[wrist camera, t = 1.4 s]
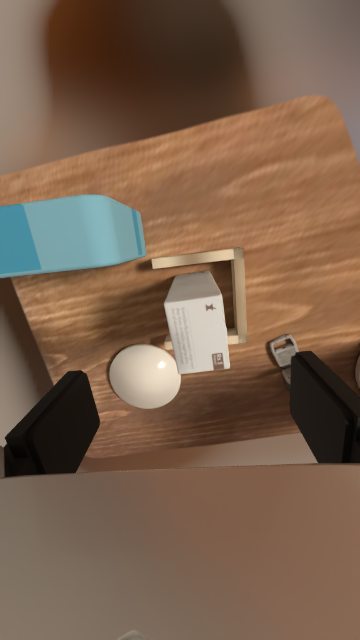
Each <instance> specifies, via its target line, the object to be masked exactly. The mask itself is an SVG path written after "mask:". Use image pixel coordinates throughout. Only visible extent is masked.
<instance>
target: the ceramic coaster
mask: <svg viewBox="0 0 360 640" xmlns="http://www.w3.org/2000/svg"><path fill="white" fill-rule="evenodd" d="M109 375H110V382H111V385H112V387H113V389H114V391H115V392H116V393H117V395H118V396H119V397H120V398H121V399H122V400H124V401H125V402H127V403H128V404H131V405H133V406H136V407H139V408H146V409H151V408H157V407H161V406H163V405H165V404H167V403H169V402H170V401H171V400H172V399H173V398H174V397H175V396H176V394H177V393H178V390H179V388H180V383H181V374H178V370H177V365H176V361H175V358H174V357H173V356H172V355H171V354H170V353H169V352H168V351H166V350H165V349H163V348H161V347H159V346H156V345H153V344H147V343H139V344H134V345H130V346H128V347H126V348H124V349H123V350H122V351H120V352H119V353H118V355H117V356H116V357H115V359H114V360H113V362H112V364H111V367H110V373H109Z"/></svg>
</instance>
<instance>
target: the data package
mask: <svg viewBox="0 0 360 640" xmlns="http://www.w3.org/2000/svg"><path fill="white" fill-rule="evenodd" d="M145 256H146V248H145V241H144V234H143V227H142V221H141V214H140V213H139V212H138V211H136V210H134V209H132V208H130V207H128V206H126V205H124V204H122V203H120V202H118V201H116V200H114V199H112V198H110V197H107V196H104V195H77V196H70V197H63V198H56V199H49V200H42V201H35V202H28V203H21V204H14V205H7V206H0V278H6V277H16V276H25V275H34V274H43V273H52V272H61V271H70V270H79V269H88V268H97V267H105V266H111V265H117V264H121V263H124V262H128V261H131V260H134V259H138V258H141V257H145Z"/></svg>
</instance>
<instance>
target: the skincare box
mask: <svg viewBox="0 0 360 640" xmlns="http://www.w3.org/2000/svg"><path fill="white" fill-rule="evenodd" d="M164 308H165V313H166V317H167V322H168V327H169V332H170V337H171V342H172V346H173V351H174V356H175V361H176V365H177V370H178V374H186V373H195V372H203V371H211V370H220V369H229V368H230V362H229V353H228V344H227V339H228V337H227V328H226V325H225V316H224V307H223V299H222V294H221V292H220V290H219V288H218V286H217V284H216V282H215V280H214V278H213V277H212V274H211V273H210V271H202V272H195V273H189V274H182V275H177V276H175V278H174V280H173V283H172V285H171V288H170V290H169V292H168V295H167V298H166V300H165V302H164Z"/></svg>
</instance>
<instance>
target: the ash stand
mask: <svg viewBox="0 0 360 640" xmlns="http://www.w3.org/2000/svg"><path fill="white" fill-rule="evenodd" d="M230 259H231V272H232V289H233V307H234V324H235V328H228V329H227V337H228V339H227V344H240V343H247V324H246V299H245V274H244V249H243V248H242V247H236V248H228V249H220V250H212V251H205V252H197V253H189V254H181V255H173V256H165V257H157V258H153V259H151V260H152V266H153V269H156V268H164V267H173V266H181V265H189V264H197V263H206V262H214V261H222V260H230ZM165 349H166V350H168V349H173V346H172V342H171V337H170V334H167V336H166V339H165Z"/></svg>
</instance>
